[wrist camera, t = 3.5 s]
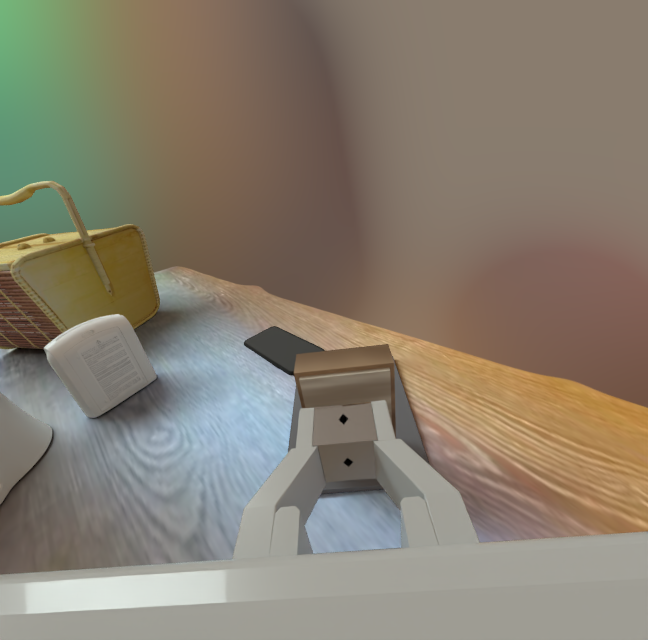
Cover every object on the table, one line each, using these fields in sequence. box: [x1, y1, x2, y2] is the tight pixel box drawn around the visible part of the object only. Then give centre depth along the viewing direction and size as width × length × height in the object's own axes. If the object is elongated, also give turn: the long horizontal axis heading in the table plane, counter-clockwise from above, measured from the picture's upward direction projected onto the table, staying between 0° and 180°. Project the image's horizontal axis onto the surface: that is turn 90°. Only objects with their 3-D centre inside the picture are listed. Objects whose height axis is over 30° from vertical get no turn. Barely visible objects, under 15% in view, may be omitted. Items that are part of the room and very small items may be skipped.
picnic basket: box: [0, 181, 160, 349], centre depth 60 cm, size 29×26×30 cm
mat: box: [288, 356, 430, 494], centre depth 36 cm, size 19×14×1 cm
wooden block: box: [294, 344, 396, 437], centre depth 27 cm, size 3×8×12 cm, turn 90°
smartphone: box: [244, 326, 324, 375], centre depth 50 cm, size 7×1×15 cm
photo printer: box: [44, 314, 157, 418], centre depth 42 cm, size 10×4×12 cm, turn 149°
